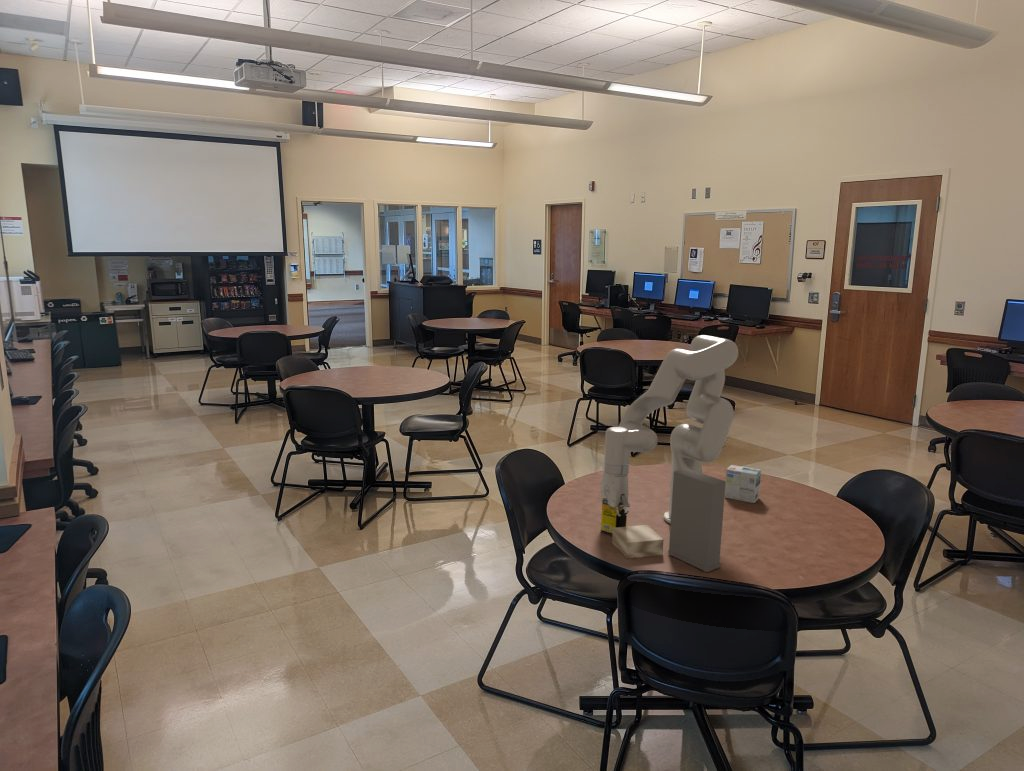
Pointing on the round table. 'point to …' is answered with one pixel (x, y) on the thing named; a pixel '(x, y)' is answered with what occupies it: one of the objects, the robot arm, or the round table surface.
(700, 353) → the robot arm
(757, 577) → the round table surface
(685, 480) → the upright grey panel
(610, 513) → the supplement box
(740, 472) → the light bulb box
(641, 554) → the birch block
